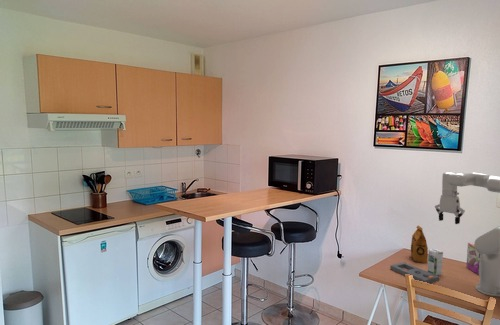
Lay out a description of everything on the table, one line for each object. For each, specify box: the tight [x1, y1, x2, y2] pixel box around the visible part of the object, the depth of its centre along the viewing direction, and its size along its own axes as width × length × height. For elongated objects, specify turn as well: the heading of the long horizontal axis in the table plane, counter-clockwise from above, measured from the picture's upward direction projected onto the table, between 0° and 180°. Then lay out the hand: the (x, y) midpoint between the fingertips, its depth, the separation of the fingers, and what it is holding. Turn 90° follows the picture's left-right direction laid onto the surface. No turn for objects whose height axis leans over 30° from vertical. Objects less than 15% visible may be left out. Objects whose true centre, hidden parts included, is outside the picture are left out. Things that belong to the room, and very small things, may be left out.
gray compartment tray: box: [390, 261, 440, 284], centre depth 202 cm, size 24×12×3 cm, turn 26°
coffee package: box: [410, 225, 429, 264], centre depth 225 cm, size 10×12×22 cm
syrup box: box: [426, 248, 444, 276], centre depth 204 cm, size 6×6×14 cm
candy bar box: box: [466, 242, 482, 276], centre depth 207 cm, size 11×5×16 cm, turn 1°
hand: (448, 222), depth 199 cm, fingers open, 9 cm apart
